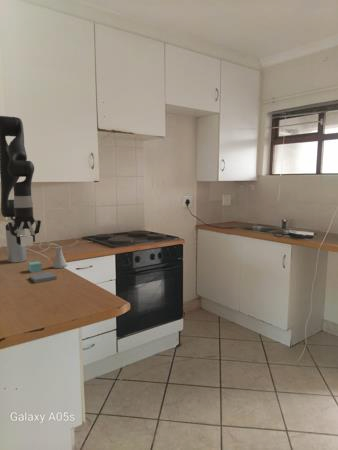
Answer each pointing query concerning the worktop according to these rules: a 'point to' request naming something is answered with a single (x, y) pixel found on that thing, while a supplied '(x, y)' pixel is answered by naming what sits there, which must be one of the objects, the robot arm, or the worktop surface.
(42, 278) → the base plate
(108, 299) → the worktop surface
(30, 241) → the white brick
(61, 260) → the flask
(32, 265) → the teal brick
